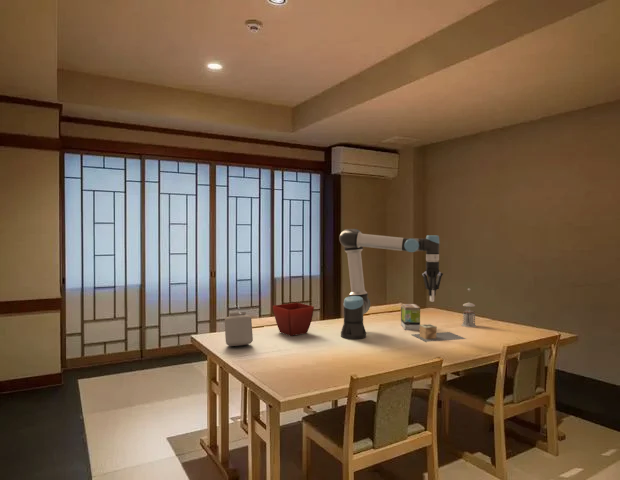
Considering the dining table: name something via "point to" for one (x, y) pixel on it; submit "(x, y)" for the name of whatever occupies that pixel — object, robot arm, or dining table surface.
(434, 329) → the wooden block
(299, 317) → the plant pot
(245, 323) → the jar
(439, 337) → the slate mat
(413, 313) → the tea box
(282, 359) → the dining table surface
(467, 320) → the french press
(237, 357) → the dining table surface
